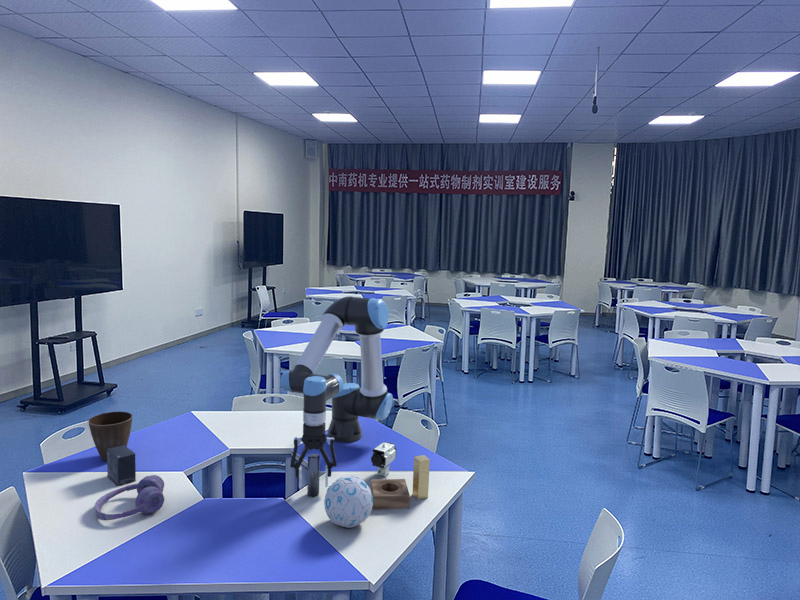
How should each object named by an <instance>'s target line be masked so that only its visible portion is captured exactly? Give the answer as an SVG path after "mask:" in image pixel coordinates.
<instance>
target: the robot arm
mask: <svg viewBox="0 0 800 600" xmlns="http://www.w3.org/2000/svg"><path fill="white" fill-rule="evenodd" d="M389 318H390V317H389V309H388V306H387V304H386V302H385V301H383V299H380V298H379V299H378V298H374V297H361V296H359V297H358V296H350V295H349V296H344V297H341V298H339V299H337V300H336V301H335V300H334V302H333V303H331V304H330V305H329V306H328V307H327V308H326V309H325V310H324V312H323V313H322V315H321V317H320V323H319V324H318V327H317V328H316V329H315V331H314V333H313V335H312V337H311V339H310V340H309V342H308V344H307V345H306V347H305V349H304V350H303V352H302V354H301V355H300V357H299V359H298V360H297V362H296V364H295V366H294V367H293V369H292V370H291V369H288V370H287V369H286V370H285V371H283V372H282V373H281V375H280V379H279V380H280V381H279V384H280V387H281V389H282V390H283V391H286V392H288V393H292V394H293V393H296V394H303V410H302V413H303V415H302V417H303V418H302V421H303V424H302V426H303V427H302V436H301V437H297V436H295V437H294V439H293V450H292V455H291V460H290V463H289V464H290V466H289V467H290V468H294V469H295V479H297V478H298V489H300V488H302V479H303V478H302V471H303V470H302V469H303V466H302V463H303V462H304V460H305V457H306V455H307V453H308V451H311V450H316V451H317V450H319V452H320V453H321V456H322V458H323V460H324V462H325V464H326V465H325V484H324V485H325V488H329V487H328V483H329V481H328V480H329V478H331V477H332V468H336V467H337V466H338V465H337V456H336V451H335V446H334V444H335V442H336V443H351V442H356V441H359V440H360V439H362V436H363V429H362V426H361V424H360V420H359V417H360V418H367V419H373V420H378V421H379V420H380V421H384V420H386V419H387V418H388V416H389V415H390V412H391V411H392V410H391V409H392V406H393V401H394V400H393V399H394V397H393V394H392V393H390V392H388V387H387V385H386V384H385V383H384V373H383V372H384V371H383V355H382V339H381V334H382V333H383V332H384V331H385V328H387V326H388V323H389ZM344 326H354V328H355V329H354V330H355V333H356V334H357V335H358V336H359V347H360V360H361V362H360V363H361V374H362V375H361V376H362V386H361V387H360V385H359V384H358V383H357V382H356V383H355V382H348V383H344V380H343V378H342V377H341V376H340V375H339V374H337V373H329V374H327V375H323V374H318V373H317V374H316V371H317V369H318V367H319V365H320V364H321V362H322V360H323V359H324V357H325V355H326V353H327V352H328V350H329V348H330V346H331V344H332V342H333V340H334V339H335V337H336V335H337V333H338V332H341V330H343V328H344ZM330 399H332V400H331V420H330V423H329V426H328V429H327V435H326V419H327V418H326V417H327V415H326V414H327V413H326V412H327V410H326V409H327V401H328V400H330ZM301 442H302V444H303V445H304V448H303V450H302V452H301V453H300V456H299V457H298V460H297V461H296V457H297V454H298V448H299V446H300V445H301ZM326 442H327V444H328V445H329V450H330V456H331V460H332V461H331V460H330V458H329V456H328V453H327V451H326V449H325V445H324V444H325V443H326Z"/></svg>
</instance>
